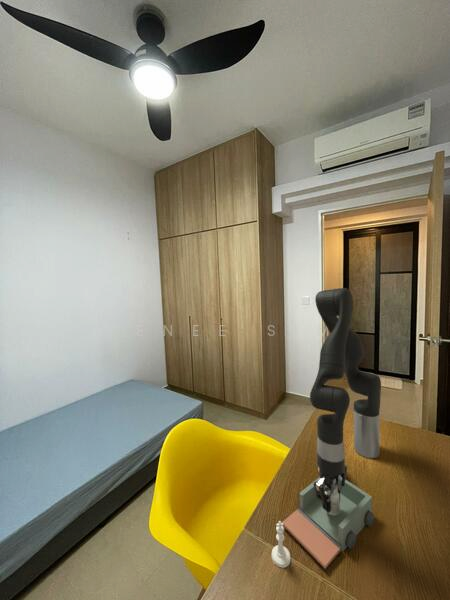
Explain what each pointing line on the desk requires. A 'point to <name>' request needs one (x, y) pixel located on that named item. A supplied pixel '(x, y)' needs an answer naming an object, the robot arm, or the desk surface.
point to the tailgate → (312, 537)
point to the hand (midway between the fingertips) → (331, 505)
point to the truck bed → (340, 513)
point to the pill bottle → (334, 502)
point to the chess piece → (280, 549)
